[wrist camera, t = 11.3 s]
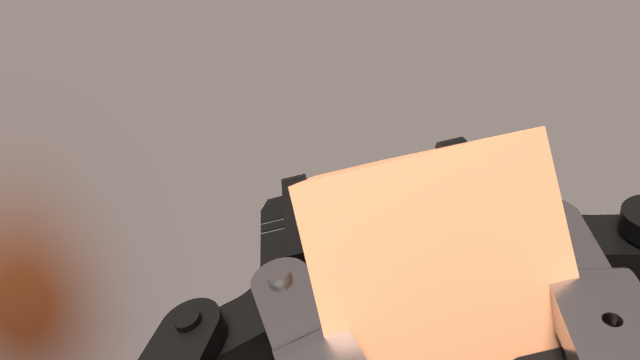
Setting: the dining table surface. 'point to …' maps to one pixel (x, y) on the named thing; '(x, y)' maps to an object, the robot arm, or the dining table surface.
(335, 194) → the peach rectangular bar
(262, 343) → the robot arm
